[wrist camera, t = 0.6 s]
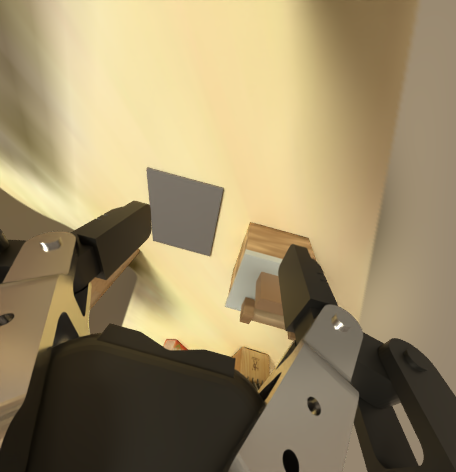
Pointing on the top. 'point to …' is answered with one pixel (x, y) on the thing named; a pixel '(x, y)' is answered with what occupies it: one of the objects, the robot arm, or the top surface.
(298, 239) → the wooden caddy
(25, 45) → the top surface
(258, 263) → the lid
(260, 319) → the wooden peg
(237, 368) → the knife block
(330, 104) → the top surface
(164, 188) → the mat
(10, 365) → the robot arm
